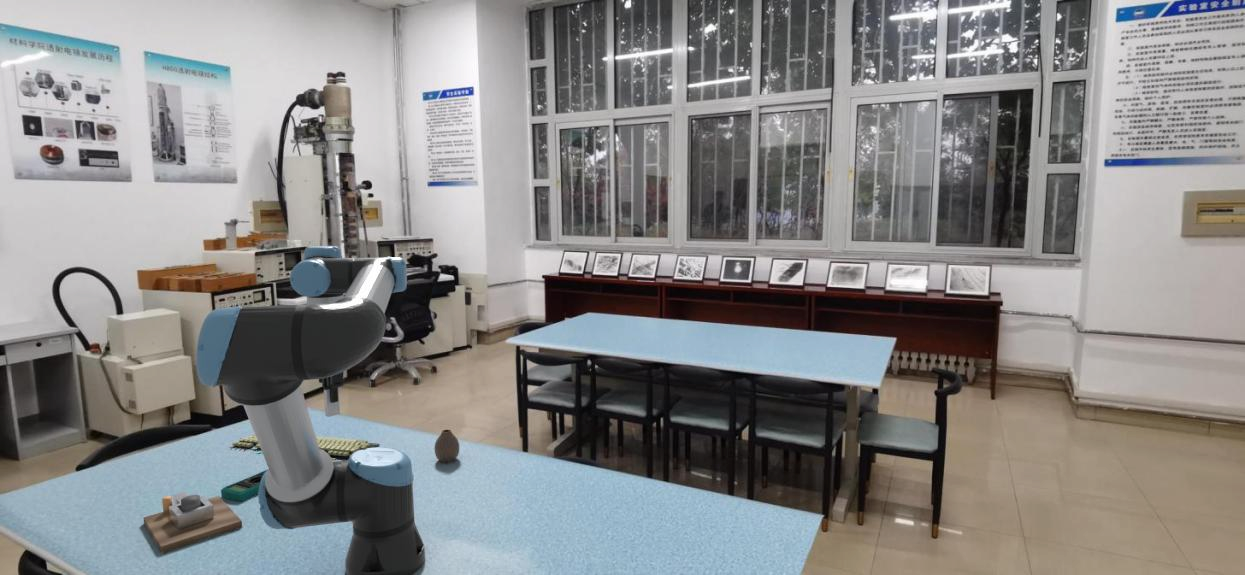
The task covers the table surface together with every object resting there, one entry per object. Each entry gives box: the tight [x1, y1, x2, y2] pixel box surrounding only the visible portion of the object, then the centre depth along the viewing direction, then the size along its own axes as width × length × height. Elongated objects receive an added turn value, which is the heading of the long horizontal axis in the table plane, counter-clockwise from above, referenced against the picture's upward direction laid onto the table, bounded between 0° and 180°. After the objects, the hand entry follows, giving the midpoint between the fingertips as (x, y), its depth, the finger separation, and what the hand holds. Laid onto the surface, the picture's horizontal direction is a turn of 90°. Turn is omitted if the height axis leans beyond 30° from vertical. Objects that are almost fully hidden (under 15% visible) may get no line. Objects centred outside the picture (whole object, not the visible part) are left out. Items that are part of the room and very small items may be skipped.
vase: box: [433, 428, 460, 463], centre depth 180 cm, size 7×7×9 cm
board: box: [143, 494, 243, 554], centre depth 143 cm, size 18×15×6 cm
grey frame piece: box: [169, 491, 214, 529], centre depth 144 cm, size 13×7×3 cm, turn 49°
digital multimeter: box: [220, 468, 269, 503], centre depth 162 cm, size 7×15×3 cm, turn 157°
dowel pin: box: [161, 495, 173, 514], centre depth 146 cm, size 2×2×4 cm
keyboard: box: [230, 433, 381, 462], centre depth 189 cm, size 45×15×2 cm, turn 76°
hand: (332, 414), depth 145 cm, fingers closed
